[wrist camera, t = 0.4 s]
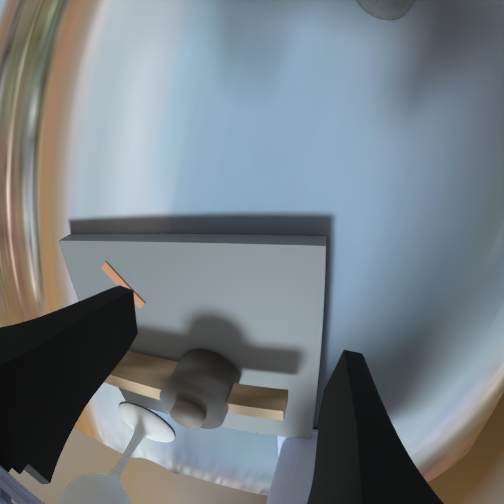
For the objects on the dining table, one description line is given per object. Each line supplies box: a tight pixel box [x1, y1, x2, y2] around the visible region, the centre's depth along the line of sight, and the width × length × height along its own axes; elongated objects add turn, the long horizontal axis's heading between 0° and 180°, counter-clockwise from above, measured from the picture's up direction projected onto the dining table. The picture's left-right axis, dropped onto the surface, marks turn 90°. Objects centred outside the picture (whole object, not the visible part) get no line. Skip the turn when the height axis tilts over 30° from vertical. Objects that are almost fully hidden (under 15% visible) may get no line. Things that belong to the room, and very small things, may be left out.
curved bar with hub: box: [104, 349, 288, 429], centre depth 21 cm, size 19×5×5 cm, turn 95°
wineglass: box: [57, 403, 175, 504], centre depth 25 cm, size 9×9×21 cm
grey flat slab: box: [59, 234, 326, 439], centre depth 24 cm, size 20×22×2 cm
